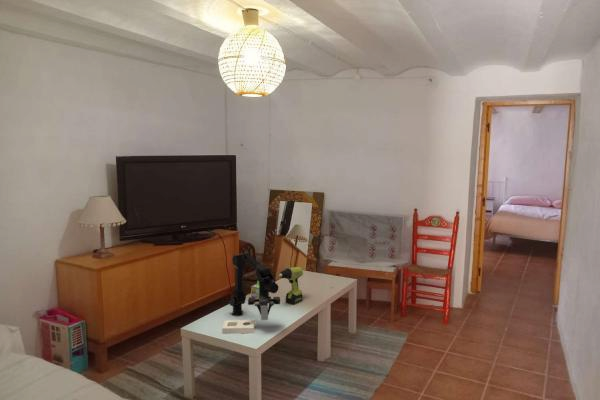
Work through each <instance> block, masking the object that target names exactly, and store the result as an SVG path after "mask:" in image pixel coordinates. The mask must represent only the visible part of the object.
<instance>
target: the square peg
mask: <svg viewBox="0 0 600 400" xmlns="http://www.w3.org/2000/svg"><path fill="white" fill-rule="evenodd" d="M268 307H269V304H268V305H267V306H265V305H262V306H261V315H260V321H268V320H269V315H268Z"/></svg>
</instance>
